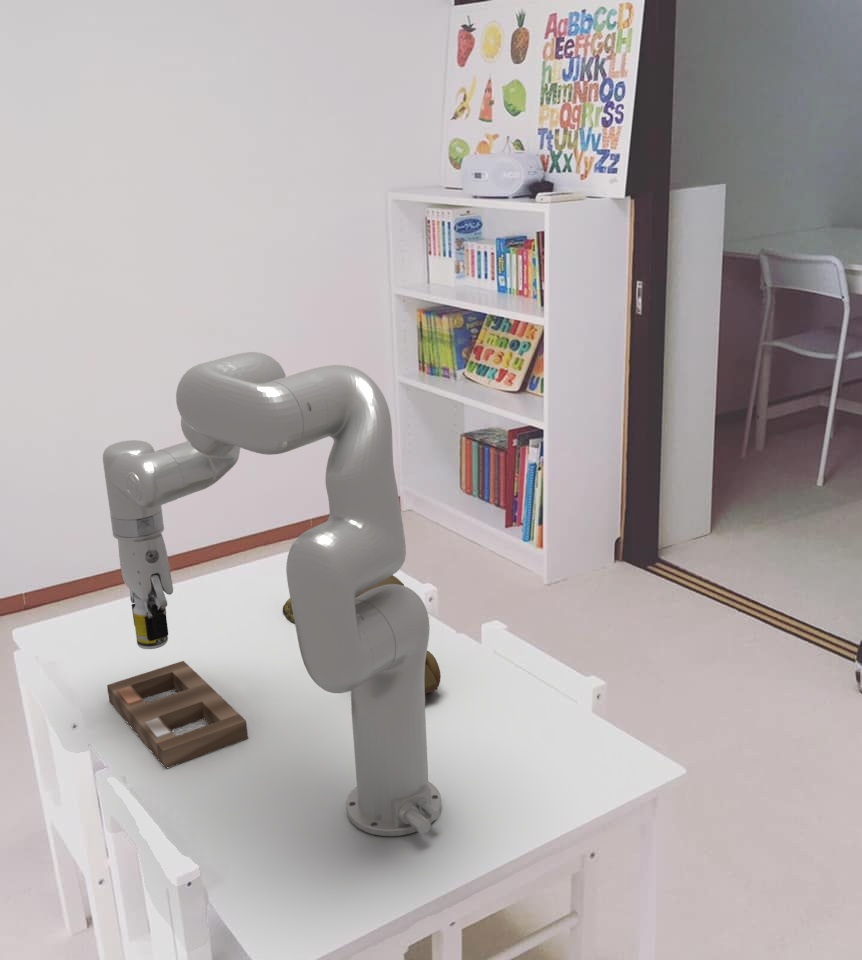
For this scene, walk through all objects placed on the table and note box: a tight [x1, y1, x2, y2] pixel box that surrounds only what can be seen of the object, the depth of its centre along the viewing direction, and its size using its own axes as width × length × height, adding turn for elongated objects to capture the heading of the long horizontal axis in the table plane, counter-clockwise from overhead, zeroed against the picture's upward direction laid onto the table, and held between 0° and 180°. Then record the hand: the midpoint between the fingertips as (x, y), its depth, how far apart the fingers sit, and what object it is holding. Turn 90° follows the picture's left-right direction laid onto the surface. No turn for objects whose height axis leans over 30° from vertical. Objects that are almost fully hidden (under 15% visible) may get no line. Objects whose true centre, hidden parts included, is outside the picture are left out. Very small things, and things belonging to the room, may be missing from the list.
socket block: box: [106, 660, 249, 769], centre depth 168 cm, size 24×13×3 cm, turn 35°
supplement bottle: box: [132, 593, 169, 650], centre depth 168 cm, size 5×5×8 cm
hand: (151, 630), depth 169 cm, fingers closed on supplement bottle, 4 cm apart
